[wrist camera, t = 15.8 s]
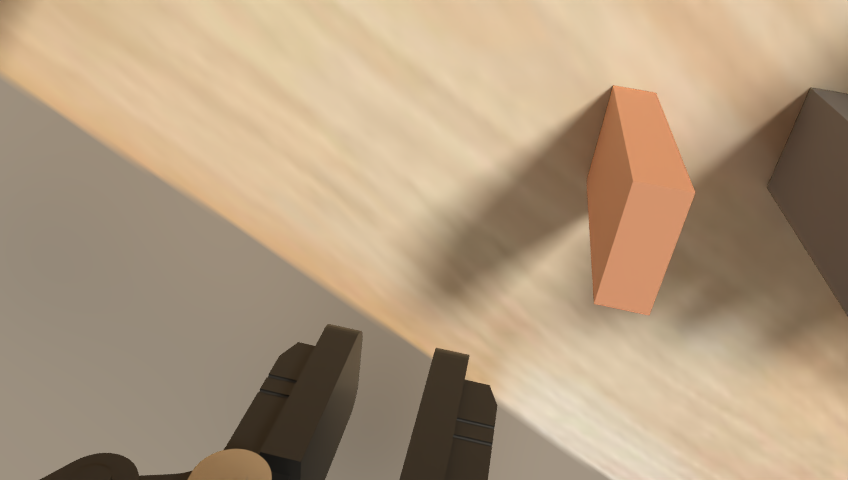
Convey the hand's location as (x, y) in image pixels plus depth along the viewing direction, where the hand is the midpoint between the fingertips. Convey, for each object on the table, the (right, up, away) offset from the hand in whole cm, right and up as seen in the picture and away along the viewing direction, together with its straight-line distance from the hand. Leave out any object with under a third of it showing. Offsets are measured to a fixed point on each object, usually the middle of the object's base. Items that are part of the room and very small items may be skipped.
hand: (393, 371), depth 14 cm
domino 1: (+10, +8, +18) cm, 22 cm away
